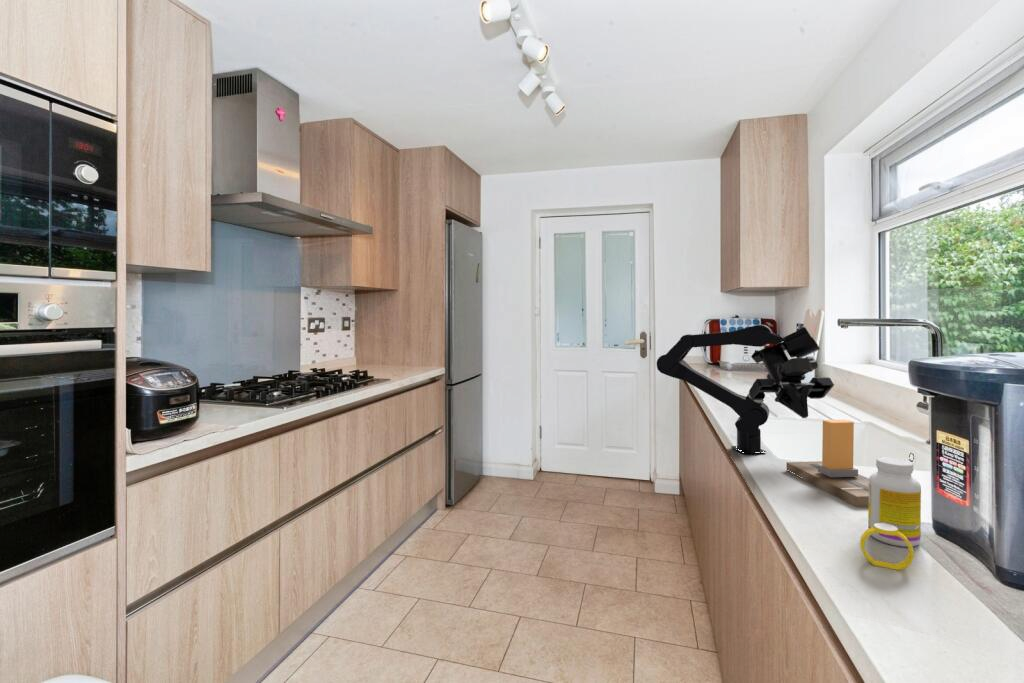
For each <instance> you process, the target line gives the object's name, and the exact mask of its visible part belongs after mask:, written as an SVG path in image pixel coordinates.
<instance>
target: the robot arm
mask: <svg viewBox="0 0 1024 683" xmlns="http://www.w3.org/2000/svg"><path fill="white" fill-rule="evenodd" d="M768 344H771V345H770V346H769V345H768ZM731 345H735V346H737V345H738V346H745V347H760V348H761V347H765V346H766V345H768V346H766V347H765V348H762V349H760V350H757V349H755V350H754V353H752V355H751V357H750V358H752V360H753V361H754V362H755V363H756V364H759V363H763V365H764V367H765V369H766V371H767V375H766V378H756V379H755V381H754V382H753V384H751V387H750V388H749V390H748V393H747V395H742V394H738V393H737V392H735V391H733V390H731V389H729V388H727V387H726V386H724V385H723V384H721V383H720V382H719V383H718V382H717V381H715V380H713V379H711V378H710V377H708V376H706V375H704V374H703V373H701V372H699V371H697V370H695V369H694V368H693V367H692V366H690V364H689V363H688V362H687V361H686V360H684V359H685V358H686V357H687V355H688V353H689V352H690V351H691V350H692V348H704V347H716V346H731ZM820 350H821V348H820V347H819V344H818V343H817V341H816V340H815V338H814V337H813V336H812V335H811V334H810V332H809V331H808V329H807V328H806V326H802V327H800V328H798V330H796V331H794V332H792V333H790V334H788V335H786V336H782V334H778V333H775V332H773V330H772V329H771V328H770V327H769V326H767V325H766V324H756V325H753V326H747V327H744V328H741V329H736V330H730V331H721V332H711V333H701V334H700V333H699V334H691V333H690V334H684V335H682V336H681V337H680V338H679V340H678V341H677V342H676V343H675V344H674V345H673V346H672V347H671V348H670V349H669V350H668V352H666V353H665V354H663V355H660V356H659V357H658V358H657V360H656V369H657V371H659V372H660V373H661V374H663V375H666V376H669V377H671V378H673V379H674V378H675V379H679V380H681V381H684V382H686V383H688V384H690V385H691V386H693V387H695V388H696V389H698V390H700V391H701V392H703V393H706V395H708V396H710V397H712V398H714V399H716V400H718V401H719V402H721V403H722V404H724V405H726V406H728V407H730V409H732V410H733V412H734V413H735V414H736V415H738V416H739V417H738V418H737V419H736V421H734V425H735V428H736V445H732V446H731V449H733V450H734V449H737V450H738V449H739V450H742V451H741V452H744V453H755V452H763V451H764V452H766V453H767V451H766V450H764V449H761V448H762V446H761V444H762V443H761V441H762V440H761V439H762V438H761V435H762V434H761V433H762V432H761V429H760V426H763V425H764V424H766V423H767V422H768V418H769V416H770V408H769V406H768V404H766V403H765V402H764V401H765V400H764V398H765V397H766V394H765V393H767V394H775V395H776V397H775V398H774V402H775V403H779V404H781V405H783V406H785V407H786V408H788V409H790V410H791V411H793V413H795V414H797V415H798V416H799V417H801V418H802V419H807V418H808V417H809V410H808V409H809V408H808V399H811V400H812V399H813V400H814V399H815V400H816V399H817V400H819V399H820V400H821V399H824V398H825V397H826V396H827V394H828V393H829V392H830V391H831V390H832V388H834V386H835V383H834V381H833V380H832V379H831V378H830V377H828V376H822V377H821V376H819V377H818V376H816V377H815V376H814V377H812V378H811V379H810V380H809V381H808V382H802V381H805V379H806V374H808V373H811V372H813V371H814V370H816V369H817V368H818V366H819V365H818V361H817V360H816V359H815V357H814V356H808V355H811V354H813V353H815V352H818V351H820ZM785 351H786V352H787V354H788V355H789V357H790V359H789V358H788V356H787V354H786V352H785ZM736 446H737V448H736Z"/></svg>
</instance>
